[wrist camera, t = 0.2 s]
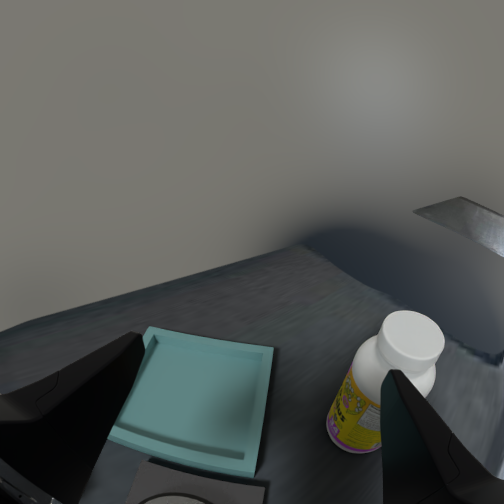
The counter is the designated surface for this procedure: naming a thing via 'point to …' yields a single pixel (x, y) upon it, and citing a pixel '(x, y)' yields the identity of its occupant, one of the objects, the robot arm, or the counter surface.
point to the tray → (197, 402)
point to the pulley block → (187, 488)
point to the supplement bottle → (373, 373)
